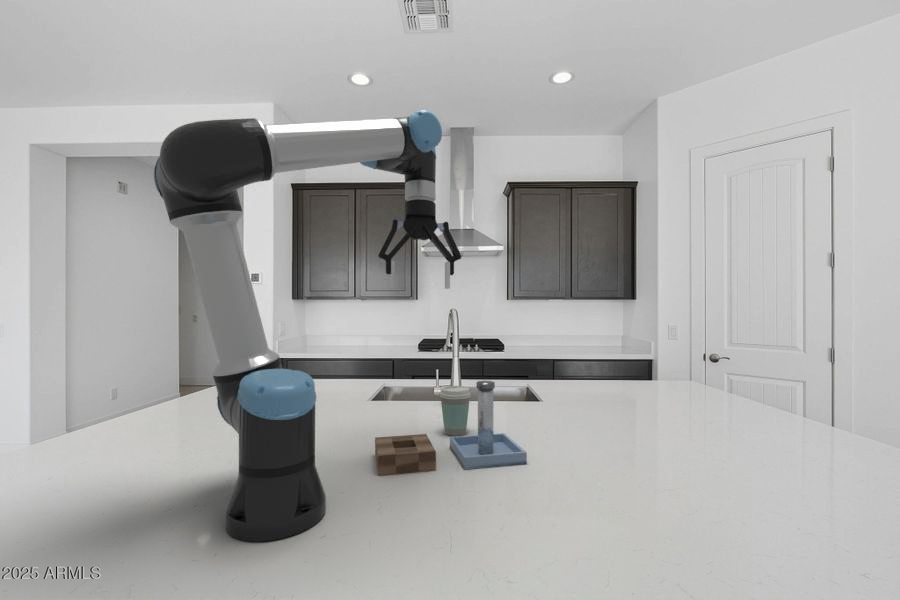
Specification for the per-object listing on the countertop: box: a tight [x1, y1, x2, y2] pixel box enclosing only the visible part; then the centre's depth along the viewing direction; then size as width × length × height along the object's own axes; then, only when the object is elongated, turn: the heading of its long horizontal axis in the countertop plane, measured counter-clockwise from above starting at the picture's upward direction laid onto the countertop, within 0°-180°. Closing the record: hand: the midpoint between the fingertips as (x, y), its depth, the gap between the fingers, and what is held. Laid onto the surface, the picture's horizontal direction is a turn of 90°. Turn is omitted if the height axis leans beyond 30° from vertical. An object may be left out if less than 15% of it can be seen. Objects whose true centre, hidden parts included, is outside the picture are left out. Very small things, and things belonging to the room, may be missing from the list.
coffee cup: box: [439, 385, 472, 437], centre depth 114 cm, size 9×9×12 cm
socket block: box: [374, 433, 437, 477], centre depth 93 cm, size 12×12×4 cm
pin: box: [475, 380, 496, 455], centre depth 97 cm, size 4×4×16 cm
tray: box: [449, 432, 528, 470], centre depth 97 cm, size 14×14×2 cm
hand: (420, 288), depth 103 cm, fingers open, 13 cm apart
